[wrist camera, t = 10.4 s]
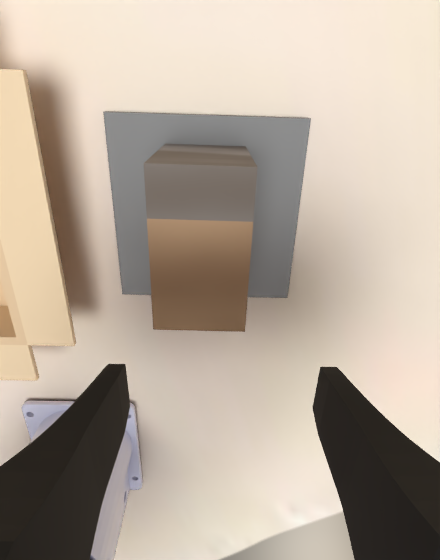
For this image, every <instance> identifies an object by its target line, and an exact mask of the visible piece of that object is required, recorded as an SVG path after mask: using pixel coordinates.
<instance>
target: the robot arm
mask: <svg viewBox="0 0 440 560" xmlns="http://www.w3.org/2000/svg"><path fill="white" fill-rule="evenodd" d="M22 411H23V415H24V418H25V421H26V425H27V428H28V431H29V435H30V438H31V442H30V444H29V445H28V446H27V447H25V448H24V449H23V450H22V451H20V452H19V453H18V454H16V455H15V456H14V457H12V458H11V459H10V460H8V461H7V462H6V463H4V464H3V465H2V466H0V560H114V556H115V552H116V547H117V543H118V538H119V534H120V529H121V525H122V520H123V516H124V512H125V507H126V503H127V498H128V494H129V490H138V489H140V488H142V484H143V479H142V470H141V460H140V451H139V441H138V431H137V422H136V412H135V406H134V405H133V404H132V403H130V400H129V392H128V383H127V375H126V366H125V364H108V365H107V366H106V367H105V368H104V369H103V370H102V372H101V373H100V374H99V375H98V376H97V377H96V379H95V380H94V381H93V382H92V383H91V384H90V385H89V387H88V388H87V389H86V390H85V391H84V392H83V393H82V394H81V395H80V396H79V398H78V399H77V400H76V401H26V402H24V404H23V406H22ZM31 412H32V413H31ZM313 412H314V417H315V422H316V426H317V431H318V435H319V438H320V441H321V444H322V447H323V450H324V453H325V456H326V459H327V462H328V465H329V468H330V471H331V474H332V477H333V480H334V483H335V485H336V488H337V491H338V494H339V498H340V501H341V504H342V508H343V512H344V516H345V520H346V524H347V528H348V532H349V536H350V541H351V546H352V550H353V555H354V559H355V560H440V462H438V461H437V460H436V459H434V458H433V457H432V456H430V455H429V454H428V453H426V452H425V451H424V450H423V449H421V448H420V447H419V446H418V445H416V444H415V443H414V442H413V441H411V440H410V439H409V438H408V437H406V436H405V435H404V434H403V433H402V432H401V431H400V430H398V429H397V428H396V427H395V426H394V425H393V424H392V423H391V422H390V421H389V420H387V419H386V418H385V417H384V416H383V415H382V414H381V413H380V412H379V411H378V410H377V409H376V408H375V407H374V406H373V405H372V404H371V403H370V402H369V401H368V400H367V399H366V398H365V397H364V396H363V395H362V394H361V393H360V391H359V390H358V389H357V388H356V387H355V386H354V385H353V384H352V383H351V382H350V381H349V380H348V379H347V377H346V376H345V375H344V374H343V373H342V372H341V371H340V370H339V369H338V368H337V367H320V372H319V377H318V383H317V388H316V393H315V398H314V404H313Z"/></svg>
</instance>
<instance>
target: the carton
mask: <svg viewBox="0 0 440 560" xmlns="http://www.w3.org/2000/svg"><path fill="white" fill-rule="evenodd" d="M75 344H76V339H75V334H74V328H73V323H72V317H71V312H70V306H69V301H68V296H67V290H66V285H65V279H64V274H63V268H62V263H61V258H60V252H59V247H58V241H57V236H56V230H55V225H54V220H53V214H52V209H51V203H50V198H49V192H48V187H47V182H46V176H45V171H44V165H43V160H42V154H41V149H40V144H39V138H38V133H37V127H36V122H35V116H34V111H33V106H32V100H31V95H30V89H29V84H28V78H27V73H26V70H12V69H0V380H28V381H37V380H38V378H39V374H38V370H37V366H36V362H35V358H34V354H33V351H32V347H31V345H39V346H75Z"/></svg>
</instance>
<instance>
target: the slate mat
mask: <svg viewBox="0 0 440 560" xmlns="http://www.w3.org/2000/svg"><path fill="white" fill-rule="evenodd" d="M103 113H104V123H105V132H106V142H107V152H108V161H109V171H110V180H111V190H112V199H113V209H114V218H115V228H116V237H117V247H118V256H119V266H120V275H121V285H122V294H136V295H151V280H150V263H149V247H148V230H147V213H146V196H145V180H144V162H145V161H147V160H148V159H149V158H150V157H151V156H152V155H153V154H154V153H155V152H157V151H158V150H159V149H160V148H161V147H162V146H163V145H164V144H194V145H223V146H246V148H247V150H248V151H249V153H250V155H251V157H252V158H253V160H254V162H255V163H256V165H257V167H258V168H257V181H256V194H255V207H254V219H253V232H252V245H251V258H250V271H249V284H248V296H247V297H270V298H287V296H288V289H289V281H290V274H291V266H292V258H293V251H294V243H295V235H296V228H297V220H298V212H299V205H300V197H301V190H302V182H303V174H304V167H305V159H306V151H307V144H308V136H309V128H310V121H311V119H310V118H289V117H258V116H227V115H196V114H166V113H135V112H103Z"/></svg>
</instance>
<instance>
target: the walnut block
mask: <svg viewBox="0 0 440 560" xmlns="http://www.w3.org/2000/svg"><path fill="white" fill-rule="evenodd" d="M257 168H258V167H257V165H256V163H255V162H254V160H253V158H252V157H251V155H250V153H249V151H248V150H247V148H246V146H223V145H194V144H164V145H163V146H162V147H161V148H160V149H159V150H158V151H157V152H155V153H154V154H153V155H152V156H151V157H150V158H149V159H148V160H147V161H145V162H144V180H145V196H146V213H147V230H148V247H149V263H150V280H151V297H152V314H153V329H158V330H200V331H243V332H245V322H246V309H247V296H248V284H249V271H250V258H251V245H252V232H253V219H254V207H255V194H256V181H257Z"/></svg>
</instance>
